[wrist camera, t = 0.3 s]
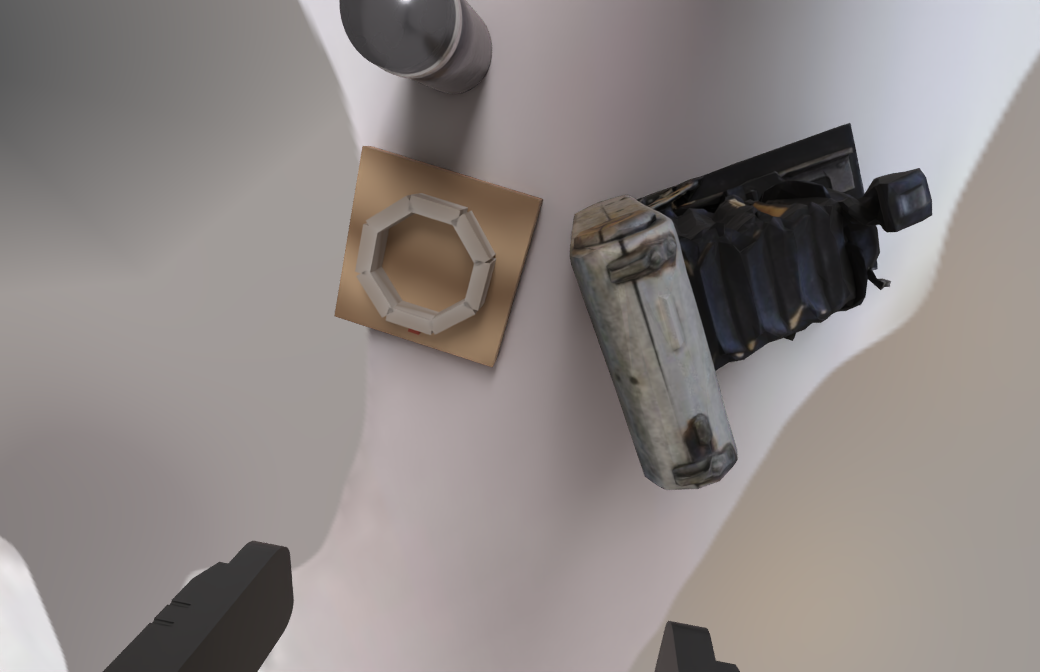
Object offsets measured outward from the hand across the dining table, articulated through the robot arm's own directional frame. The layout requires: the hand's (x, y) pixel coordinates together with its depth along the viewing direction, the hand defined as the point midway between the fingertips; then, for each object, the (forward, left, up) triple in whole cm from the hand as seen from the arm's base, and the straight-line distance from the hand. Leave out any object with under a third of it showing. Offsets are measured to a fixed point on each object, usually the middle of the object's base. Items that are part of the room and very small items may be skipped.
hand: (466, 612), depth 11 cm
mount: (0, -9, -28) cm, 29 cm away
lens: (-13, -11, -28) cm, 32 cm away
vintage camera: (-7, +8, -28) cm, 30 cm away
